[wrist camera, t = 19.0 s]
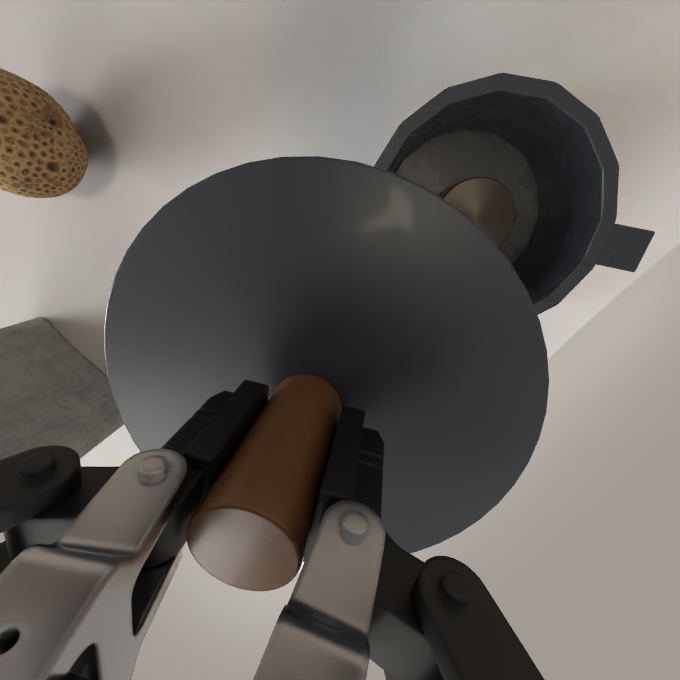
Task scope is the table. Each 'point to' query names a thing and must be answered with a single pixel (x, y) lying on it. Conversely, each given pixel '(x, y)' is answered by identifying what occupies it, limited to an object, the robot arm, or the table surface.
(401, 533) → the pot lid
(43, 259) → the table surface
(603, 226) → the pot
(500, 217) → the tea tin
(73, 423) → the hip flask
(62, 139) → the natural sponge
